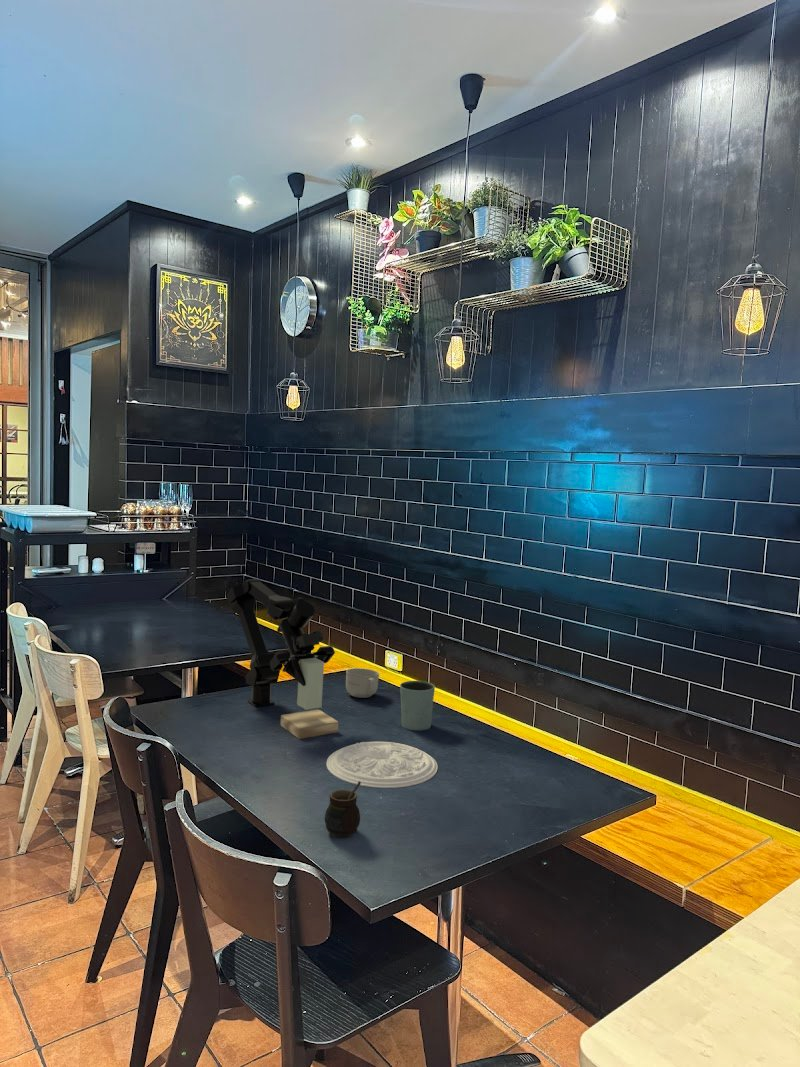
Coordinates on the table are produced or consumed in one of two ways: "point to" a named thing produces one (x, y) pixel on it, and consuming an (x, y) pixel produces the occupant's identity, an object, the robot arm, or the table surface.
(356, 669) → the teacup
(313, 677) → the sage pillar
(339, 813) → the mate gourd
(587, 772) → the table surface
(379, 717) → the table surface
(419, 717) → the grey-green cup
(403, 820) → the table surface
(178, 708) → the table surface
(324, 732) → the maple base
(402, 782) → the ceiling medallion
